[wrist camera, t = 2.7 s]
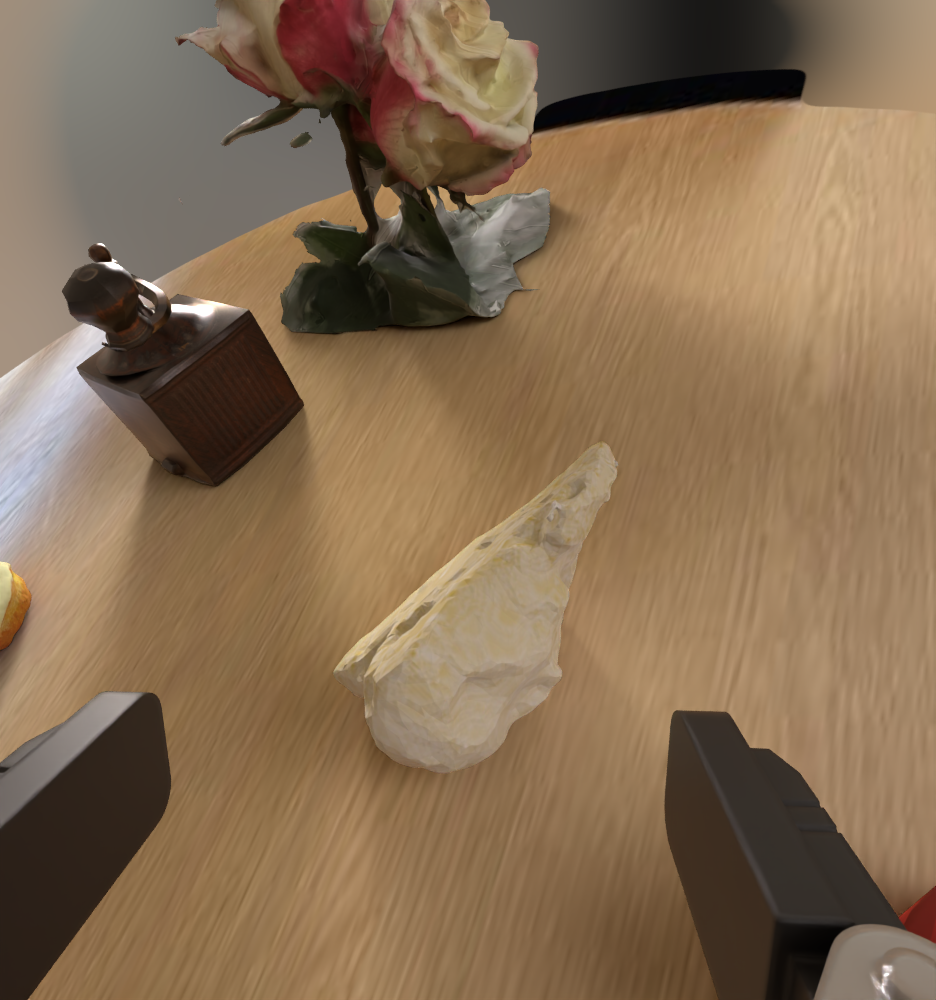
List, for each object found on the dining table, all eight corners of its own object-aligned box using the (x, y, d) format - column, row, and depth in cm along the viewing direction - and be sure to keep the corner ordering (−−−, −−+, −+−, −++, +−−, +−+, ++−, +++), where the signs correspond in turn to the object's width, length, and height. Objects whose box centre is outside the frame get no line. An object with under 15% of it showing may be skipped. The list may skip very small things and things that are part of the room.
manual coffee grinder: (143, 462, 53) (-37, 269, 40) (237, 380, 58) (103, 184, 45) (249, 518, 45) (64, 295, 32) (350, 416, 49) (224, 186, 36)
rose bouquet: (551, 322, 50) (434, -235, 29) (261, 342, 61) (24, -46, 40) (602, 174, 65) (551, -265, 44) (362, 212, 76) (227, -121, 55)
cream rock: (380, 848, 29) (614, 807, 19) (268, 740, 29) (448, 638, 18) (512, 629, 40) (704, 530, 30) (433, 548, 40) (602, 418, 30)
